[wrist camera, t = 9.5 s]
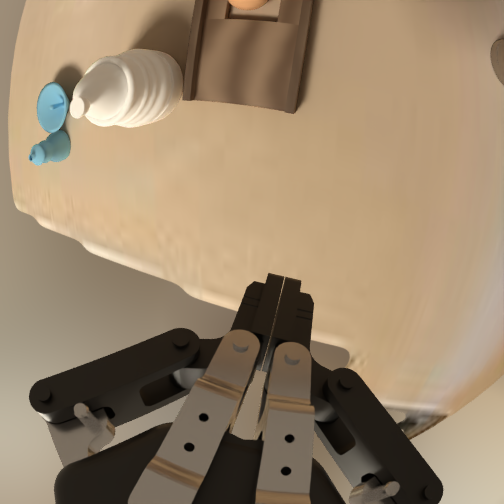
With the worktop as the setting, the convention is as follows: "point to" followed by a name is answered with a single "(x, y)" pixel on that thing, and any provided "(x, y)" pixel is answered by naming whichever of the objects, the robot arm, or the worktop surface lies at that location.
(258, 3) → the ball
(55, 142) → the light blue flared piece
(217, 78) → the track
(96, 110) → the honey pot
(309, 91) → the worktop surface
